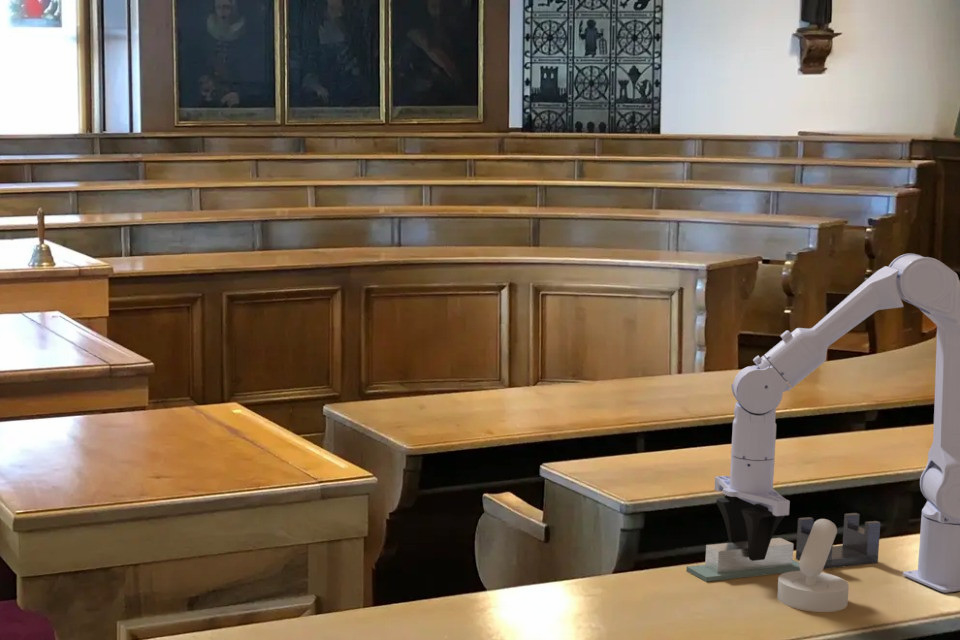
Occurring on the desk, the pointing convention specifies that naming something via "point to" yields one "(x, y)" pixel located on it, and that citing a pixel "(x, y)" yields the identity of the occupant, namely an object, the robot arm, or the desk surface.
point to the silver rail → (747, 556)
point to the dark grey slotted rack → (846, 542)
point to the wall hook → (814, 575)
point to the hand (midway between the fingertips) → (747, 554)
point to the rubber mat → (739, 572)
